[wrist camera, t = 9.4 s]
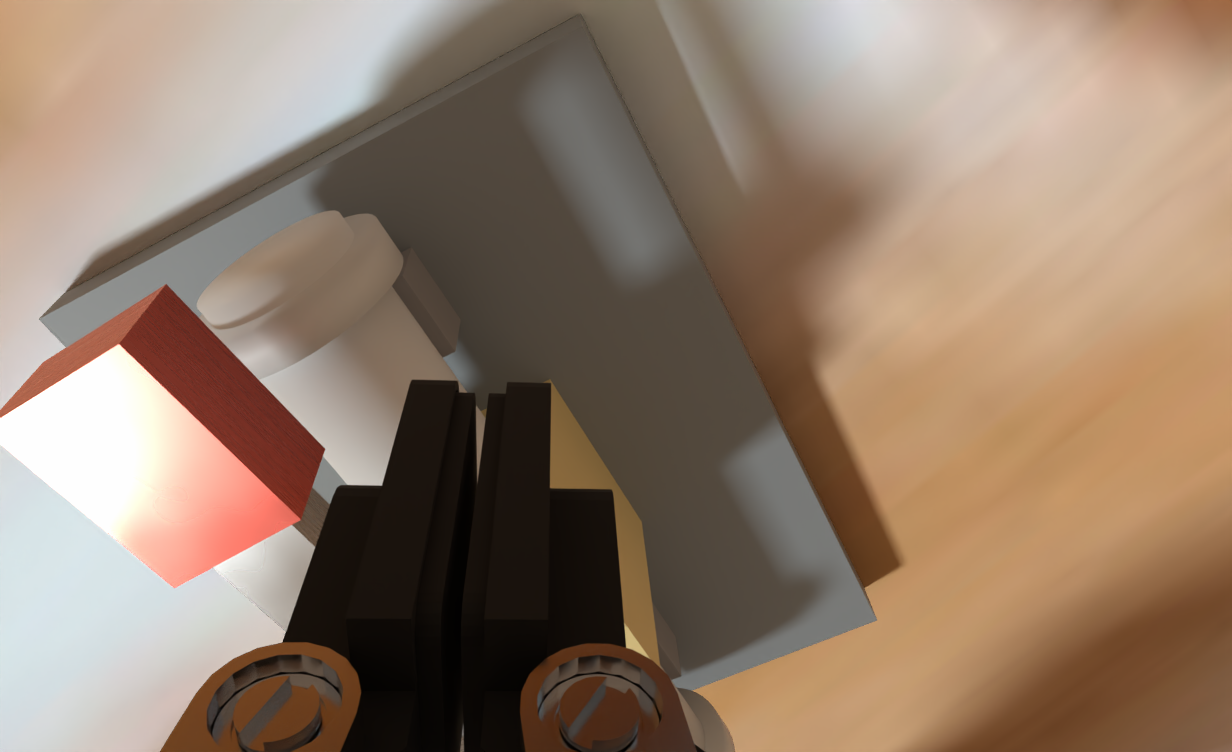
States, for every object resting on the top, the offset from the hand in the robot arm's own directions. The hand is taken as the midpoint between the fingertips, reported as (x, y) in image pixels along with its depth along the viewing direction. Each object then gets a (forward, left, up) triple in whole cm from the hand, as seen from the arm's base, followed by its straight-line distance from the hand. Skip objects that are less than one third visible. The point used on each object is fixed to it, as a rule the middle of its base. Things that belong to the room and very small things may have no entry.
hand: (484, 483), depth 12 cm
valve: (-9, +5, -15) cm, 18 cm away
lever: (-4, +6, -5) cm, 9 cm away
